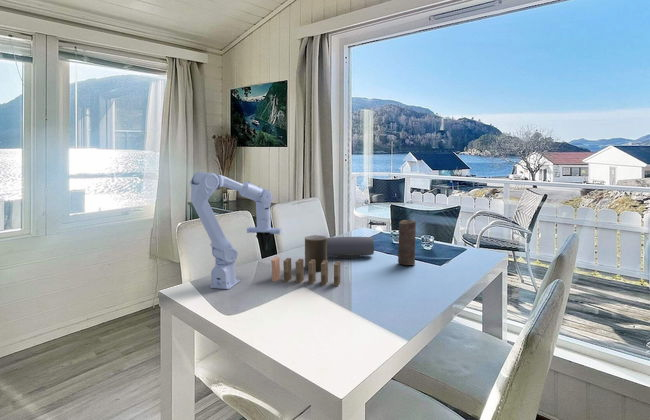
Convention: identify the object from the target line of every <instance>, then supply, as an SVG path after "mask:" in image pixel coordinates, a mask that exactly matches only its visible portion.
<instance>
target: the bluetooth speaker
mask: <svg viewBox="0 0 650 420" xmlns="http://www.w3.org/2000/svg"><path fill="white" fill-rule="evenodd" d="M373 255H375V245H374V237H371V236H336V237H335V236H334V237H327V257H337V258H338V259H359V258H360V257H364V256H365V257H366V256H373Z"/></svg>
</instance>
